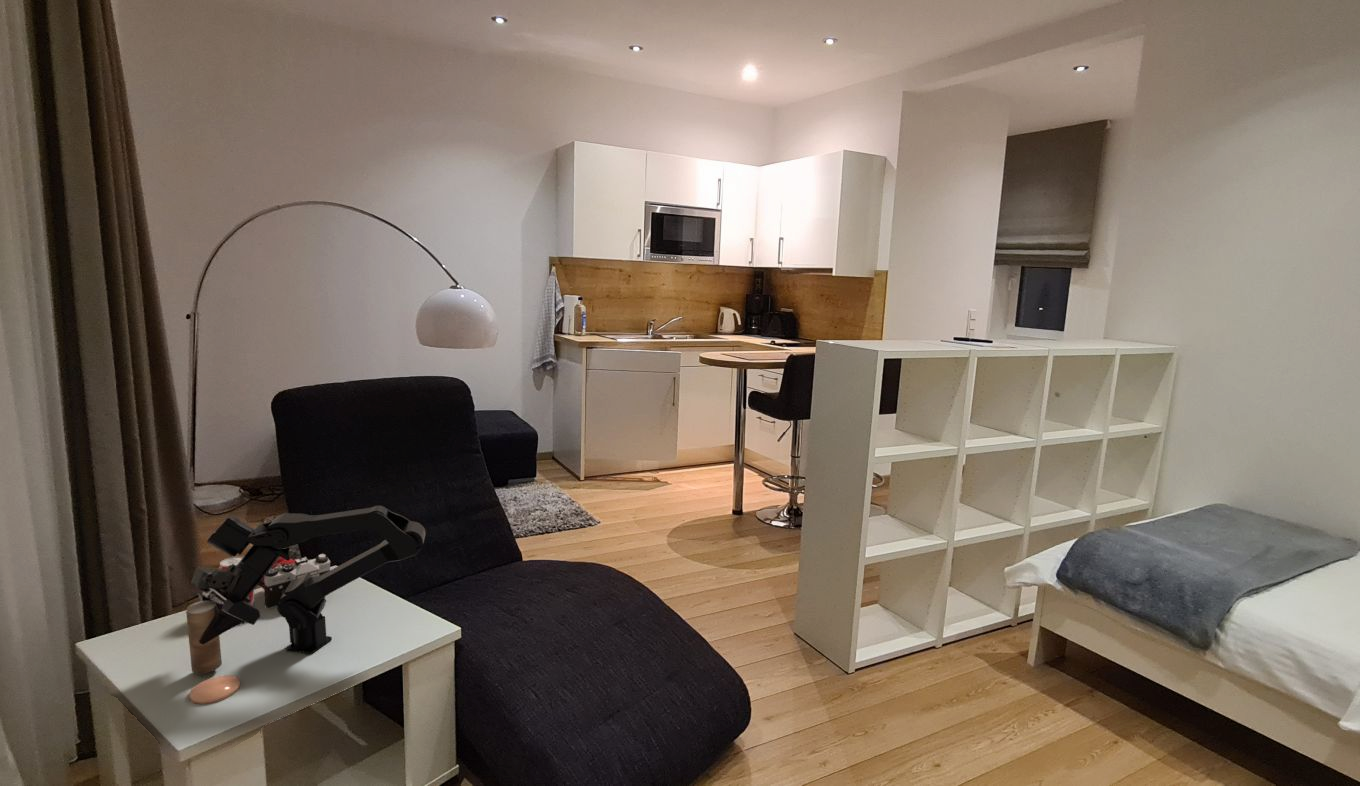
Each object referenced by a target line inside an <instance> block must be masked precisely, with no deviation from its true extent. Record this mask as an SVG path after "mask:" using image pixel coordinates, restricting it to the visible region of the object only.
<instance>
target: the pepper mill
mask: <svg viewBox="0 0 1360 786" xmlns="http://www.w3.org/2000/svg"><path fill="white" fill-rule="evenodd" d="M215 606H217V605H216V602H215V601H200V600H199V601H197V602H194V603H191V604H190V605H188V606H187V607H186V611H185V613H186V622H187V623H186V624H187V633H188V634H187V635H188V644H189V653H190V654H189V657H190V664H191V665H190V667H191V672H192V673H193V674H200V675H201V674H206V673H211V672H213V671H215V670H217V669H220V667H221V666H222V653H221V642H220V641H221V640H220V639H221V638H220V635H219V636H217V637H215V638H214V639H212V640H210V641H209V642H207V643H205V644H201V643H199V640H200V638H201V636H202V635H203V633H204V632H205V630H206V629H207V627H208V626H209V624H210V623H211V621H212V620H213V618H214V617H215Z"/></svg>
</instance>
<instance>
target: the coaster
mask: <svg viewBox="0 0 1360 786" xmlns="http://www.w3.org/2000/svg"><path fill="white" fill-rule="evenodd" d="M240 682H241V681H240V679H239V678H238V677H236V676H235V675H220V676H215V677H212V678H208V679H205V680H203V681H201V682H200V683H198V684H196V685H195V686H194V687H192V688H191V690H190V691H189V700H190V701H191V702H192V703H194V704H199V705H200V704H201V705H205V704H213V703H217V702H219V701H223V700H225V699H227V698H229V697H231V696H233V695H234V694H236V693H237V691H238V690H239V689H240V686H241V685H240Z"/></svg>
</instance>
